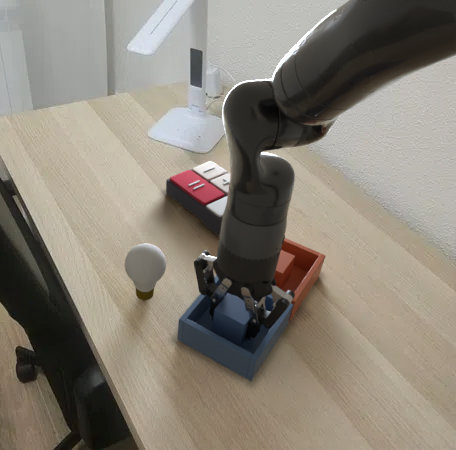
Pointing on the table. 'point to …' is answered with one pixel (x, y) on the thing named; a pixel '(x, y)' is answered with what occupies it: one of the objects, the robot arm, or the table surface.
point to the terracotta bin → (301, 271)
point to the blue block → (231, 319)
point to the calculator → (202, 193)
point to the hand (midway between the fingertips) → (233, 325)
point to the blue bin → (224, 349)
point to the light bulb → (145, 268)
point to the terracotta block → (283, 268)
